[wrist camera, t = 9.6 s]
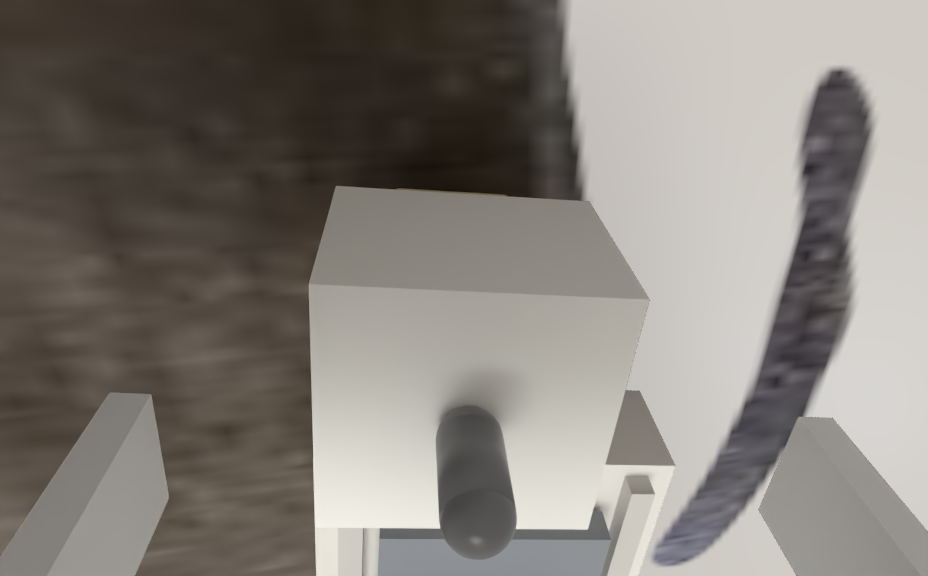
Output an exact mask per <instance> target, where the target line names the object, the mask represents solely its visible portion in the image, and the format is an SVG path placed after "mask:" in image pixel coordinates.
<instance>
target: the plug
mask: <svg viewBox="0 0 928 576" xmlns="http://www.w3.org/2000/svg"><path fill="white" fill-rule="evenodd" d="M649 301H650V299H649V298H648V296H647V295H646V293H645V291H644V289H643V288H642V286H641V285H640V283H639V281H638V280H637V278H636V276H635V275H634V273H633V272H632V270H631V268H630V267H629V265H628V264H627V262H626V261H625V259H624V257H623V255H622V254H621V252H620V251H619V249H618V247H617V246H616V244H615V242H614V241H613V239H612V238H611V236H610V234H609V233H608V231H607V229H606V228H605V226H604V225H603V223H602V221H601V220H600V218H599V216H598V215H597V213H596V212H595V210H594V208H593V207H592V205H591V203H590V202H589V201H574V200H557V199H541V198H525V197H508V196H506V195H503V194H486V193H470V192H454V191H438V190H422V189H405V188H397V190H395V189H378V188H362V187H346V186H336V188H335V191H334V195H333V198H332V202H331V206H330V209H329V213H328V216H327V220H326V224H325V227H324V231H323V234H322V238H321V242H320V245H319V249H318V252H317V256H316V260H315V263H314V267H313V270H312V274H311V278H310V281H309V314H310V350H311V386H312V422H313V458H314V494H315V528H432V529H441V532H442V535H443V537H444V539H445V541H446V542H447V544H448V545H449V546H450V548H451V549H453V550H454V551H455V552H456V553H458V554H459V555H461V556H463V557H465V558H469V559H474V560H483V559H488V558H491V557H494V556H495V555H497V554H499V553H500V552H502V551H503V550H504V549H505V548H506V547H507V546H508V545H509V543H510V541H511V540H512V538H513V536H514V533H515V530H516V529H576V530H588V527H589V524H590V520H591V516H592V512H593V509H594V505H595V501H596V498H597V494H598V490H599V487H600V483H601V479H602V475H603V472H604V468H605V464H606V461H607V457H608V453H609V449H610V446H611V442H612V438H613V435H614V431H615V427H616V423H617V420H618V416H619V412H620V409H621V405H622V401H623V398H624V394H625V390H626V386H627V383H628V379H629V375H630V372H631V367H632V364H633V360H634V357H635V353H636V349H637V345H638V342H639V338H640V334H641V331H642V327H643V323H644V319H645V316H646V312H647V308H648V305H649Z"/></svg>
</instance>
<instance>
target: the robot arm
mask: <svg viewBox="0 0 928 576" xmlns="http://www.w3.org/2000/svg"><path fill="white" fill-rule="evenodd" d="M168 499H169V494H168V488H167V483H166V477H165V471H164V465H163V460H162V454H161V448H160V442H159V436H158V431H157V425H156V419H155V413H154V408H153V402H152V396H151V394H134V393H109V394H108V396H107V397H106V399H105V400H104V402H103V403H102V405H101V406H100V408H99V409H98V411H97V412H96V414H95V415H94V417H93V418H92V420H91V421H90V423H89V424H88V426H87V427H86V429H85V430H84V432H83V433H82V435H81V436H80V438H79V439H78V441H77V442H76V444H75V445H74V447H73V448H72V450H71V451H70V453H69V454H68V456H67V457H66V459H65V460H64V462H63V463H62V465H61V466H60V468H59V469H58V471H57V472H56V474H55V475H54V477H53V478H52V480H51V481H50V483H49V484H48V486H47V487H46V489H45V490H44V492H43V493H42V495H41V496H40V498H39V499H38V501H37V502H36V504H35V505H34V507H33V508H32V510H31V511H30V513H29V514H28V516H27V517H26V519H25V520H24V522H23V523H22V525H21V526H20V528H19V529H18V531H17V532H16V534H15V535H14V537H13V538H12V540H11V541H10V543H9V544H8V546H7V547H6V549H5V550H4V552H3V553H2V555H1V556H0V576H135V574H136V572H137V570H138V567H139V565H140V563H141V560H142V558H143V556H144V554H145V551H146V549H147V547H148V545H149V542H150V540H151V538H152V535H153V533H154V531H155V529H156V526H157V524H158V522H159V520H160V517H161V515H162V513H163V510H164V508H165V506H166V504H167V501H168ZM758 510H759V512H760V513H761V515H762V517H763V519H764V520H765V522H766V524H767V526H768V527H769V529H770V530H771V532H772V534H773V536H774V538H775V539H776V541H777V543H778V545H779V546H780V548H781V550H782V551H783V553H784V555H785V557H786V558H787V560H788V562H789V564H790V565H791V567H792V569H793V570H794V572H795V574H796V576H928V531H927V530H926V529H925V528H924V526H923V525H922V524H921V523H920V522H919V521H918V519H917V518H916V517H915V516H914V515H913V513H912V512H911V511H910V510H909V509H908V507H907V506H906V505H905V504H904V503H903V501H902V500H901V499H900V498H899V497H898V495H897V494H896V493H895V492H894V491H893V489H892V488H891V487H890V486H889V485H888V483H887V482H886V481H885V480H884V479H883V478H882V476H881V475H880V474H879V473H878V472H877V470H876V469H875V468H874V467H873V466H872V464H871V463H870V462H869V461H868V460H867V458H866V457H865V456H864V455H863V454H862V452H861V451H860V450H859V449H858V448H857V446H856V445H855V444H854V443H853V442H852V441H851V440H850V438H849V437H848V436H847V435H846V433H845V432H844V431H843V430H842V429H841V427H840V426H839V425H838V424H837V423H836V421H835V420H834V419H833V418H819V417H798V419H797V421H796V424H795V426H794V428H793V431H792V433H791V435H790V438H789V440H788V442H787V444H786V447H785V449H784V451H783V454H782V456H781V458H780V461H779V463H778V465H777V468H776V470H775V472H774V475H773V477H772V479H771V482H770V484H769V486H768V489H767V491H766V493H765V495H764V498H763V500H762V502H761V505H760V507H759V509H758Z"/></svg>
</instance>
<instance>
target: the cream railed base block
mask: <svg viewBox="0 0 928 576" xmlns="http://www.w3.org/2000/svg"><path fill="white" fill-rule="evenodd" d="M674 469H675V464H674V462H673V460H672V458H671V455H670V453H669V451H668V449H667V447H666V445H665V443H664V441H663V439H662V437H661V435H660V433H659V430H658V428H657V426H656V424H655V422H654V420H653V418H652V416H651V414H650V412H649V409H648V407H647V405H646V403H645V401H644V399H643V397H642V395H641V393H640V391H627V390H625V394H624V398H623V401H622V405H621V409H620V412H619V416H618V420H617V423H616V427H615V431H614V435H613V438H612V442H611V446H610V449H609V453H608V457H607V461H606V464H605V468H604V472H603V475H602V479H601V483H600V487H599V490H598V494H597V498H596V501H595V505H594V509H593V511H602V512H603V515H604V519H605V522H606V525H607V528H608V531H609V534H610V537H611V543H610V546H609V550H608V553H607V556H606V560H605V563H604V566H603V570H602V573H601V576H638V574H639V571H640V568H641V565H642V563H643V559H644V557H645V554H646V551H647V548H648V545H649V542H650V539H651V536H652V533H653V530H654V527H655V524H656V521H657V519H658V516H659V513H660V510H661V507H662V504H663V501H664V498H665V495H666V492H667V489H668V486H669V484H670V481H671V478H672V475H673V472H674ZM313 473H314V458H313ZM314 508H315V494H314ZM379 534H380V528H315V543H316V576H378V557H379Z"/></svg>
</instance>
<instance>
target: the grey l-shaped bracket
mask: <svg viewBox="0 0 928 576" xmlns="http://www.w3.org/2000/svg"><path fill="white" fill-rule="evenodd" d="M610 543H611V537H610V534H609V531H608V528H607V525H606V522H605V519H604V515H603V512H602V511H593V512H592V516H591V520H590V524H589V527H588V530H576V529H516V530H515V533H514V536H513V538H512V540H511V541H510V543H509V545H508V546H507V547H506V548H505V549H504V550H503V551H502V552H500V553H499V554H497V555H495V556H494V557H491V558H488V559H483V560H474V559H469V558H465V557H463V556H461V555H459V554H458V553H456V552H455V551H454V550H453V549H451V548H450V546H449V545H448V544H447V542H446V541H445V539H444V537H443V535H442V532H441V529H432V528H380V534H379V557H378V576H601V573H602V570H603V566H604V563H605V560H606V556H607V553H608V550H609V546H610Z"/></svg>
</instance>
